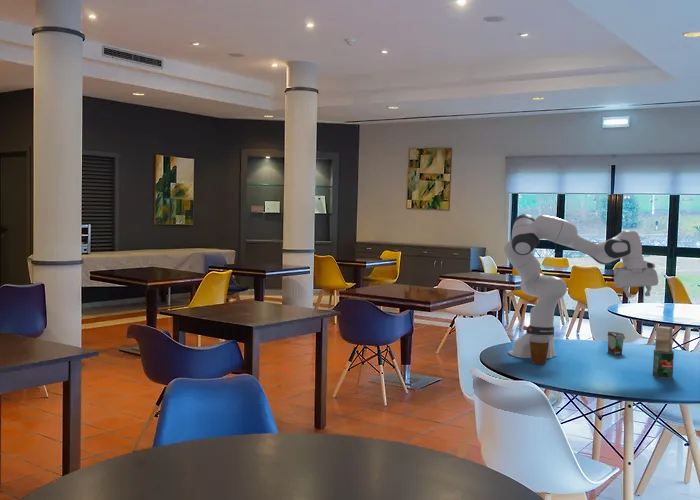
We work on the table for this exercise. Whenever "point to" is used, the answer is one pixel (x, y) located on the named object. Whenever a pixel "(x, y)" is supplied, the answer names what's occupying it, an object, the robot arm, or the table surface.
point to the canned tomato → (663, 364)
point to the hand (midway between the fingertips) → (638, 296)
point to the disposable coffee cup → (539, 348)
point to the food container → (615, 343)
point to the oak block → (664, 339)
